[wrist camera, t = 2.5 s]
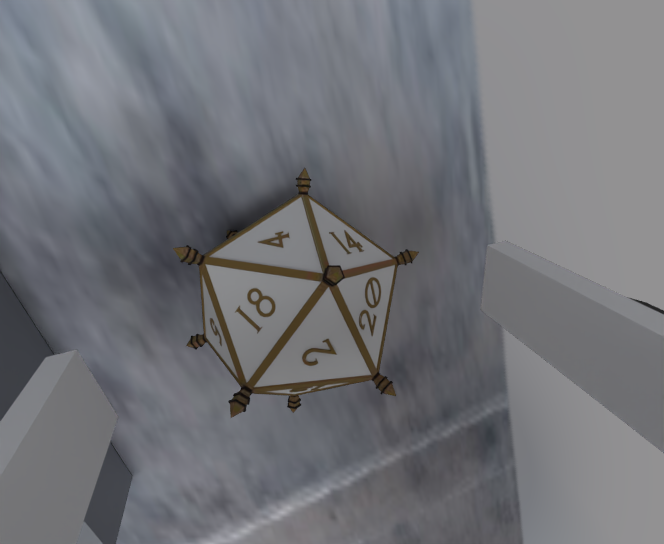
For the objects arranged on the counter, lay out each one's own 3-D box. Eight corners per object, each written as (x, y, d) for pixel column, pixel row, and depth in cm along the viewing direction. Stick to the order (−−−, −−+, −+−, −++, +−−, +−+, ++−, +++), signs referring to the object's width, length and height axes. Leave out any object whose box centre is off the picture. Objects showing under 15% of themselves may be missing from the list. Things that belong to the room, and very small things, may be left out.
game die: (260, 206, 19) (295, 63, 10) (380, 291, 20) (517, 236, 11) (150, 344, 16) (45, 329, 6) (300, 437, 17) (395, 538, 8)
